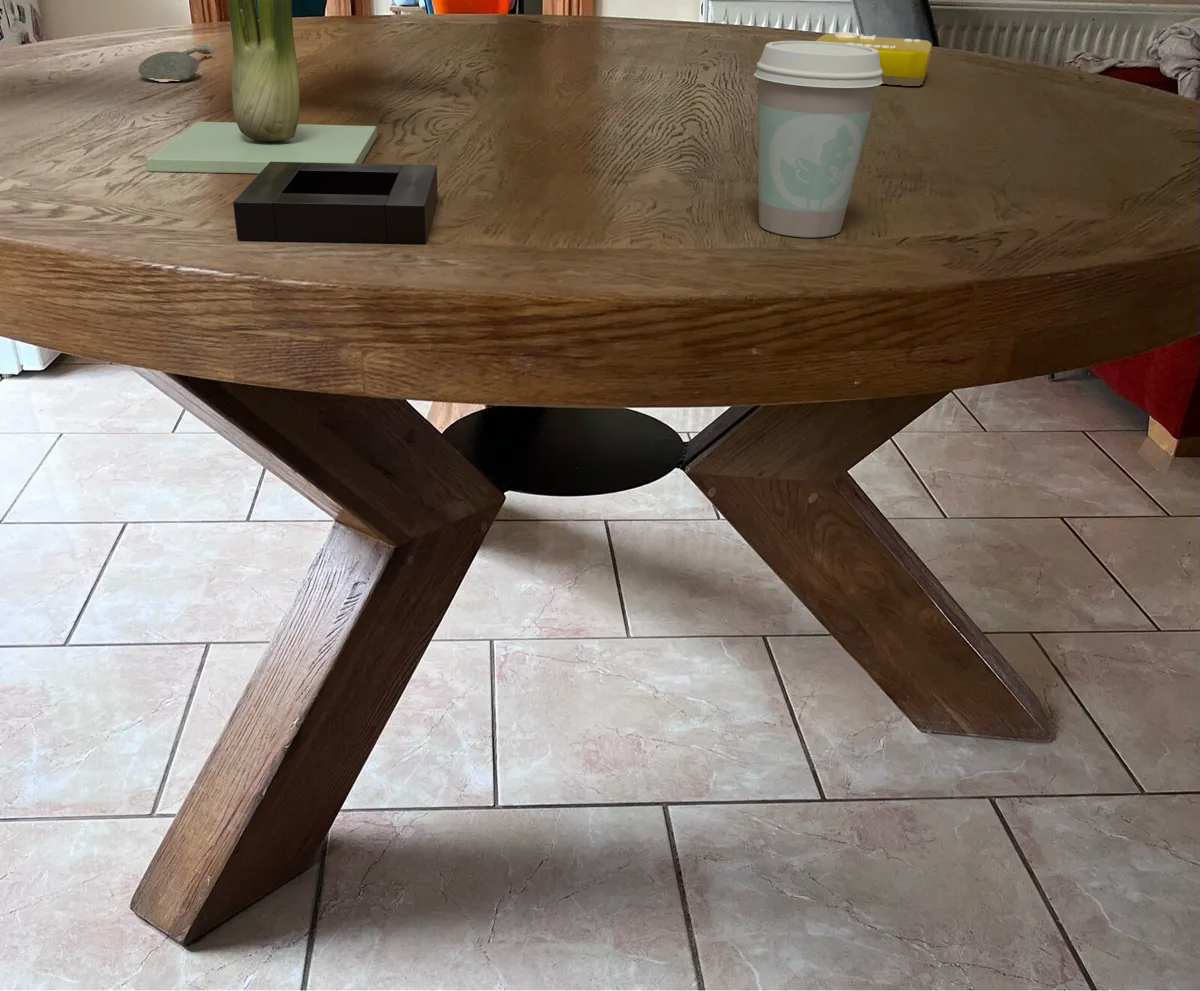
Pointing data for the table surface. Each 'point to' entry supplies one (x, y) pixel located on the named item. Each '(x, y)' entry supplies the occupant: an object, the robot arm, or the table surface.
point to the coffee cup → (811, 132)
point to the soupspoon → (173, 64)
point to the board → (259, 148)
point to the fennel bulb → (264, 69)
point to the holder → (338, 203)
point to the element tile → (891, 52)
